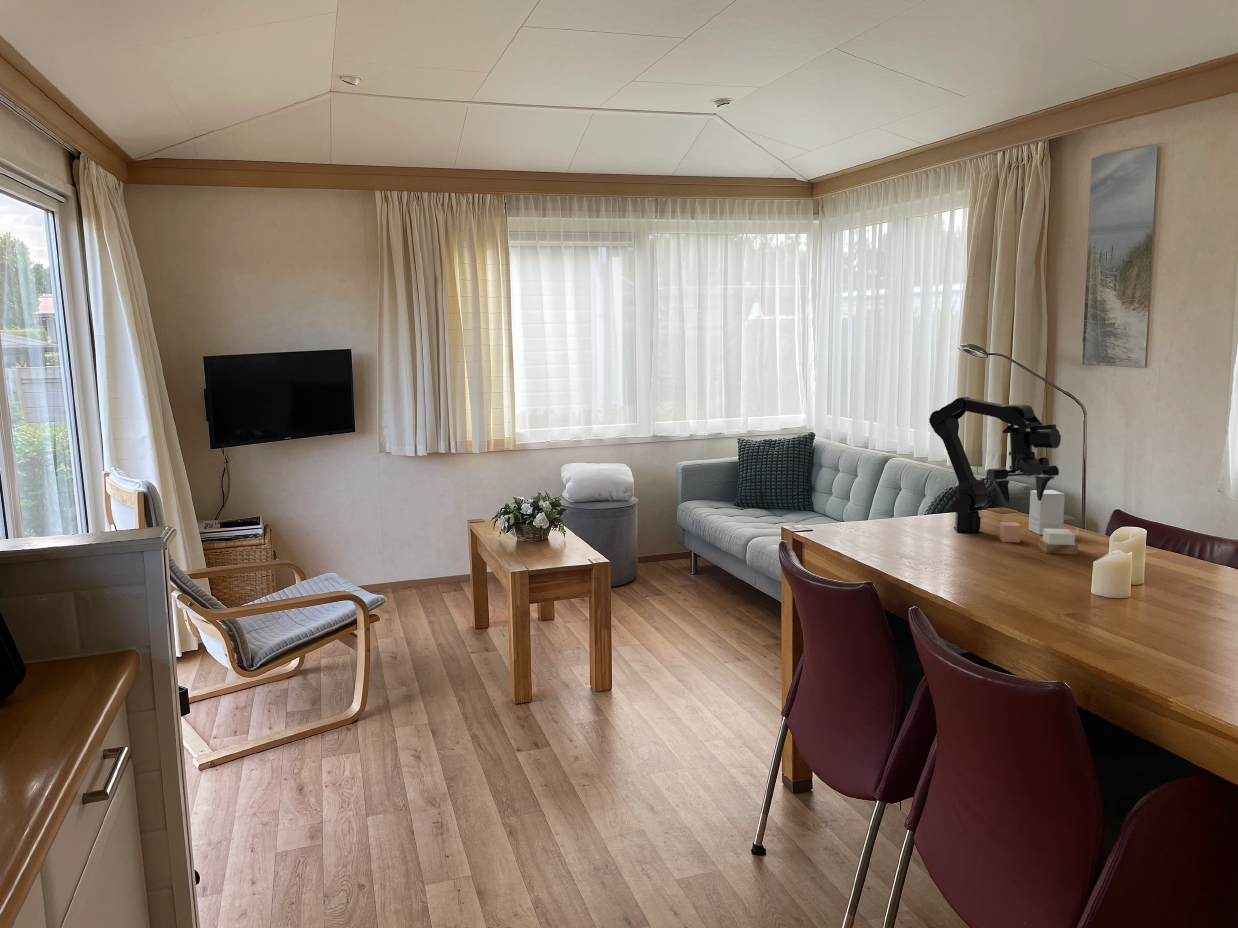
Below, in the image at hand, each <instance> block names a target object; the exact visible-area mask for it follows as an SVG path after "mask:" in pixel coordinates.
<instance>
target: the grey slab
mask: <svg viewBox="0 0 1238 928" xmlns="http://www.w3.org/2000/svg"><path fill="white" fill-rule="evenodd" d="M1042 538H1043V540H1045V541H1046V542H1047V543H1048V544H1055V545H1075V544H1076V543H1075V542H1076V533H1074V532H1072V531H1071V530H1070V529H1069V528H1063V529H1043V535H1042Z"/></svg>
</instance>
